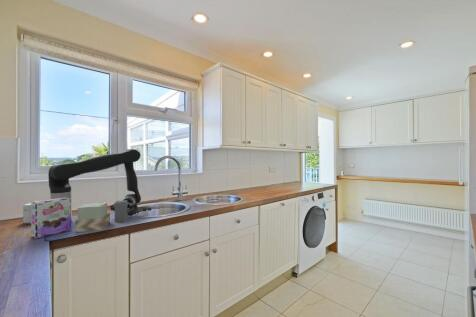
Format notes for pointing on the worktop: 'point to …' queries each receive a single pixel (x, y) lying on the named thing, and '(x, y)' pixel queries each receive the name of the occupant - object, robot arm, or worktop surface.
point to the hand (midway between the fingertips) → (121, 208)
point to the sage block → (92, 211)
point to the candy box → (50, 217)
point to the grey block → (121, 211)
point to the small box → (27, 213)
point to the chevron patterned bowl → (92, 224)
